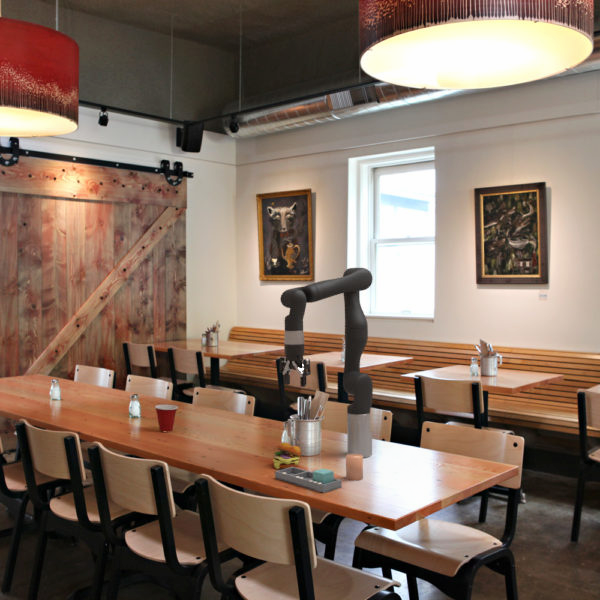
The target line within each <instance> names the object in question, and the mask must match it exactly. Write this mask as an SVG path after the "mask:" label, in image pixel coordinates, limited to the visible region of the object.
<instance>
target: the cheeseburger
mask: <svg viewBox="0 0 600 600" xmlns="http://www.w3.org/2000/svg"><path fill="white" fill-rule="evenodd" d="M277 450H278V451H275V452H274V453H273V454H274V456H273V457H274V458H272V461H273V463H272V464H273V466H274V468H275V469H276V470H279V469H286V468H290V467H296V468H298V464H299V462H300V457H301V456H302V455H303V454H302V450H301V447H300V446H297V445H291V444H290V443H288V442H281V443H279V444H278V446H277Z"/></svg>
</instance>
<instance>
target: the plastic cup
mask: <svg viewBox="0 0 600 600" xmlns="http://www.w3.org/2000/svg"><path fill="white" fill-rule="evenodd" d="M154 408H155V411H156V417H157V422H158V426H159V431H171V430H172V431H174V424H175V418H176V417H175V416H176V412H177V410H178V409H179V407H178V405H174V404H157V405H155V406H154ZM172 431H171V432H172Z"/></svg>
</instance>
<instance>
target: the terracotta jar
mask: <svg viewBox="0 0 600 600" xmlns="http://www.w3.org/2000/svg"><path fill="white" fill-rule="evenodd" d="M345 478H347V479H346V480H348V481H354V480H356V481H362V480H363V479H364V458H363V455H361V454H346V455H345Z"/></svg>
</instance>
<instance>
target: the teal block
mask: <svg viewBox="0 0 600 600" xmlns="http://www.w3.org/2000/svg"><path fill="white" fill-rule="evenodd" d="M312 472H313V481H317V482H318V483H322V484H327V483H330V482H334V478H335V473H334V472H335V471H333V470H331V469H327V468H320V469H316V470H313V471H312Z"/></svg>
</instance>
